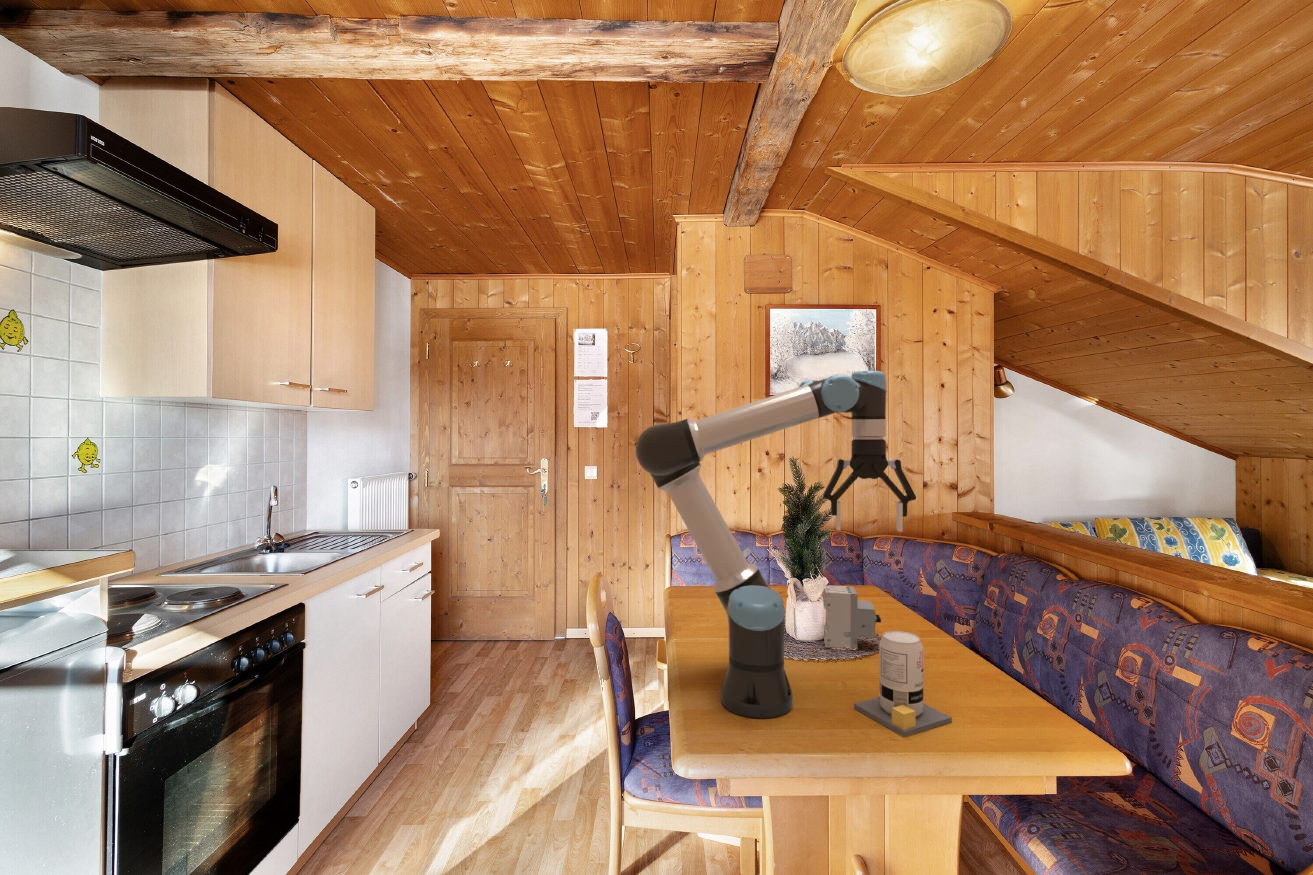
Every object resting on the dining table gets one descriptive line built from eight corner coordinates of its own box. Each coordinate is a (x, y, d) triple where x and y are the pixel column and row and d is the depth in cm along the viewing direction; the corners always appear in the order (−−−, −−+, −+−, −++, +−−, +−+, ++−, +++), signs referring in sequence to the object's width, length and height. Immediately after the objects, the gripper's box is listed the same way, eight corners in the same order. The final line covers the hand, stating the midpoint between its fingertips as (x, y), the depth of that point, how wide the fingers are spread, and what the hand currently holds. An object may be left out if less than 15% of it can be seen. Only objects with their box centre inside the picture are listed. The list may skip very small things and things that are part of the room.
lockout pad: (904, 736, 114) (904, 716, 114) (854, 708, 126) (854, 689, 125) (951, 722, 119) (951, 702, 119) (899, 695, 131) (899, 677, 131)
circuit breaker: (882, 652, 156) (882, 595, 156) (825, 649, 159) (825, 592, 159) (877, 642, 164) (877, 587, 163) (823, 639, 166) (823, 585, 166)
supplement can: (874, 700, 127) (873, 629, 126) (913, 700, 127) (913, 629, 126) (887, 719, 119) (887, 643, 118) (930, 719, 118) (930, 643, 118)
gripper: (921, 437, 141) (921, 528, 141) (811, 438, 145) (811, 526, 145) (930, 438, 133) (930, 534, 134) (814, 438, 137) (814, 531, 138)
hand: (868, 530), depth 139 cm, fingers open, 13 cm apart
